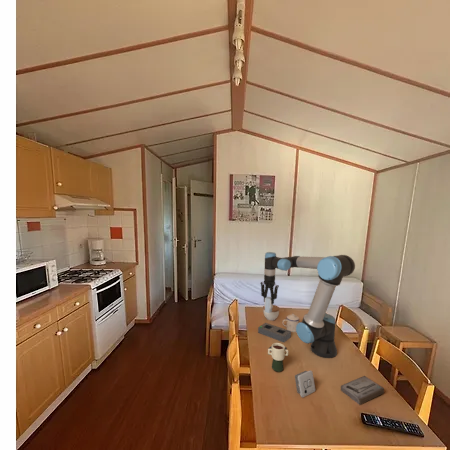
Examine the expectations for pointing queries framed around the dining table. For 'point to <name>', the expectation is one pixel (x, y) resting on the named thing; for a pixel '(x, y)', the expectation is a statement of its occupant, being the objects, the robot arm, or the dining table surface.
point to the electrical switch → (305, 383)
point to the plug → (267, 305)
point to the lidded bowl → (271, 313)
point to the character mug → (278, 356)
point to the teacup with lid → (291, 322)
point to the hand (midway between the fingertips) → (268, 307)
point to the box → (362, 389)
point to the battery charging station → (274, 332)
